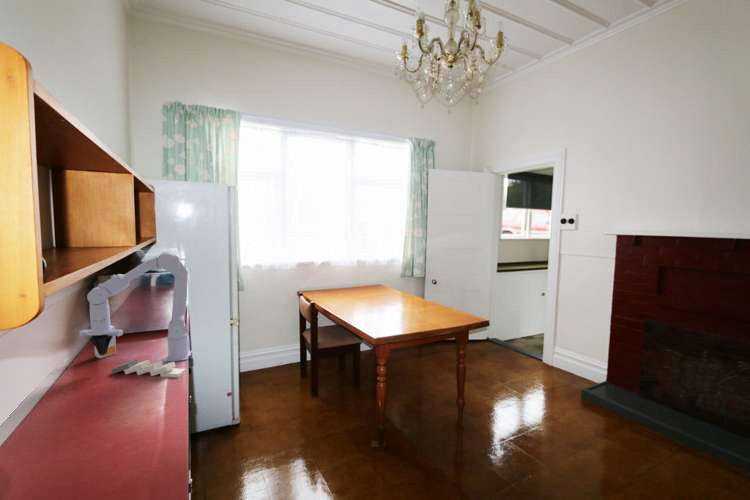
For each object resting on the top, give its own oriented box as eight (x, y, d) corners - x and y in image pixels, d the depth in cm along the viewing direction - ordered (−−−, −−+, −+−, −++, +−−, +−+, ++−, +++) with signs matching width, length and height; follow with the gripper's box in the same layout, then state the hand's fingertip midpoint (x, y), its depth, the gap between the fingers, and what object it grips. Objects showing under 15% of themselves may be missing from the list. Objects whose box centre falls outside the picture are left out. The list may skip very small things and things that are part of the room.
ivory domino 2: (136, 370, 124) (152, 365, 124) (145, 365, 129) (161, 360, 128) (137, 375, 124) (154, 369, 124) (146, 370, 129) (162, 364, 128)
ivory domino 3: (149, 371, 124) (165, 366, 122) (158, 366, 128) (174, 361, 127) (151, 376, 124) (167, 371, 122) (160, 370, 128) (176, 365, 127)
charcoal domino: (111, 369, 125) (127, 363, 124) (121, 364, 129) (136, 358, 129) (113, 373, 125) (129, 368, 124) (122, 368, 130) (138, 363, 129)
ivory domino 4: (160, 373, 123) (178, 374, 123) (168, 367, 128) (186, 368, 127) (160, 377, 124) (178, 378, 123) (169, 372, 128) (186, 373, 127)
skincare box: (100, 358, 138) (98, 330, 137) (94, 357, 140) (92, 329, 139) (117, 353, 144) (115, 326, 143) (111, 351, 146) (109, 324, 145)
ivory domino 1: (123, 370, 125) (139, 364, 124) (133, 365, 129) (148, 359, 128) (125, 374, 125) (141, 368, 124) (134, 369, 129) (150, 363, 128)
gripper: (127, 315, 130) (129, 349, 131) (89, 316, 130) (92, 350, 131) (113, 321, 123) (116, 357, 124) (73, 321, 123) (76, 357, 124)
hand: (103, 354), depth 127 cm, fingers closed
